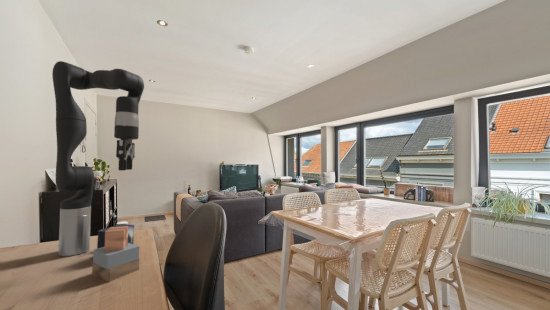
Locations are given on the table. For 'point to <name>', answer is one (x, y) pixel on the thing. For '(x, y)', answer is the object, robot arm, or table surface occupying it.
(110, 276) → the tower base
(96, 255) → the tower top
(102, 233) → the small box
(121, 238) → the terracotta block
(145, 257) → the table surface
